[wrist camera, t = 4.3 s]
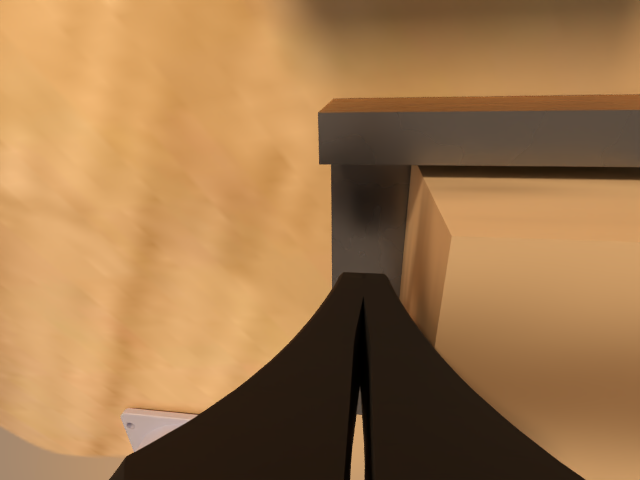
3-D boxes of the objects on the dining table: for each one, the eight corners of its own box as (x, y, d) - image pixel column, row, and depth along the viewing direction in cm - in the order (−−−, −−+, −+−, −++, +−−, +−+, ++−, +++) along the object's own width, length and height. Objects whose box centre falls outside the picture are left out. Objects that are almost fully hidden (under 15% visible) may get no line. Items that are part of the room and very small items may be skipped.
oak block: (558, 336, 13) (683, 515, 8) (396, 326, 14) (413, 484, 9) (621, 156, 10) (884, 249, 5) (412, 154, 11) (451, 236, 6)
